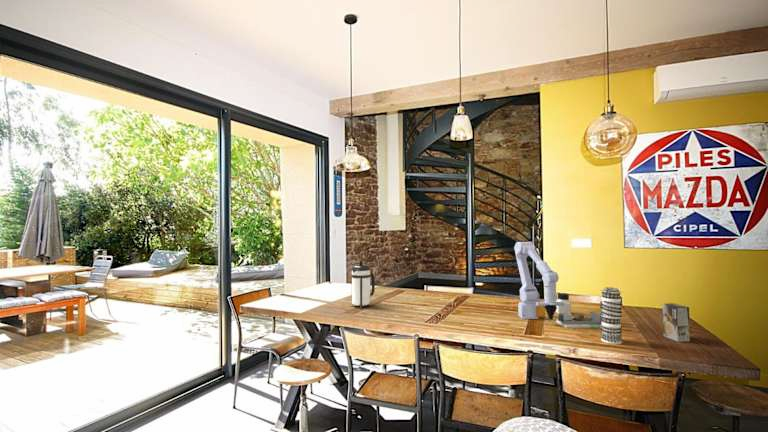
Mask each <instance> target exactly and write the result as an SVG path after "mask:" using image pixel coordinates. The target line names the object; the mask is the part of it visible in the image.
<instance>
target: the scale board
mask: <svg viewBox="0 0 768 432" xmlns="http://www.w3.org/2000/svg"><path fill="white" fill-rule="evenodd" d="M589 311H590V313H589V317H584V321H574V320H573V321H563V322H561V321H560V320H559V317H557V319H555V322H556V323H557V324H559V325H560V326H562V327H563V328H565V329H567V328H568V329H571V328H572V329H575V328H576V329H582V328H583V329H601V328H602V327H601V325H602V316H601V313H598V312H595V311H594V310H589Z"/></svg>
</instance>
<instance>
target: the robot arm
mask: <svg viewBox="0 0 768 432" xmlns="http://www.w3.org/2000/svg"><path fill="white" fill-rule="evenodd" d="M513 249H514V253H515V258H516V259H515V260H516V263H517V268H518V271H519V275H520V280H521V285H522V286H521V287H520V289H519V298H520V302H518V306H517V307H518V308H517V310H518V314H517V316H518V317H519V318H521V319H523V320H524V319H527V320H531V319H532V320H539V319H540V318H539V317H538V316H537V307H544V309H545V312H546V313H547V319H548V320H550V321H551V320H553V319H554V315H555V313H556V309H557V307H556V306H565V303H564V302H556V300H557V282H558V281H559V278H560V277H559V274H558V273H557V272H556V271H554V270H552V269H551V267H550V265H548V263H547V262H546V261H545V260H542V258H541V257H540V255H539V254H538V252H537V250H536V246H535V244H534V243H533V242H532V241H516V242H515V245H514V246H513ZM528 257H530V258H531V259H532V260H533V262H534V263H535V264H536V265H535V267H536V269H537V271H538V272H540V275H541V276H542V277H541V279H542V281H543V286H544V301H539V299H540V293H539V291H538V290H537V287H536V286H535V285H533V282H532V278H531V274H530V269H529V265H528V261H527V258H528Z"/></svg>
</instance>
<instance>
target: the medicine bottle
mask: <svg viewBox="0 0 768 432" xmlns="http://www.w3.org/2000/svg"><path fill="white" fill-rule="evenodd" d="M569 297H570V296H569V293H565V292H559V293H557V299H556V302H564V303H565V306H556V307H557V309H556V311H555V313H557V314H558V315H559V314H560V313H570V314H572V303H571V302H570V301H569V300H570V299H569Z"/></svg>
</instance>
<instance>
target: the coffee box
mask: <svg viewBox="0 0 768 432" xmlns="http://www.w3.org/2000/svg"><path fill="white" fill-rule="evenodd" d="M662 332H663V333H662V336H663V337H665V338H667V339H670V340H673V341H675V342H678V343H680V342H681V343H682V342H683V343H685V342H691V341H690V337H691V336H690V333H691V331H690V307H689V306H685V305H681V304H678V303H672V302H670V303H662Z"/></svg>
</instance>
